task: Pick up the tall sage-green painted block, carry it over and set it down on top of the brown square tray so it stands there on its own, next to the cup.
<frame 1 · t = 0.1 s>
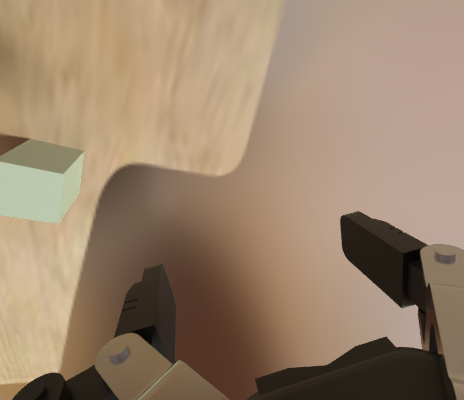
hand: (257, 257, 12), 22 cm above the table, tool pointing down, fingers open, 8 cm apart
green block: (56, 167, 30), on the table
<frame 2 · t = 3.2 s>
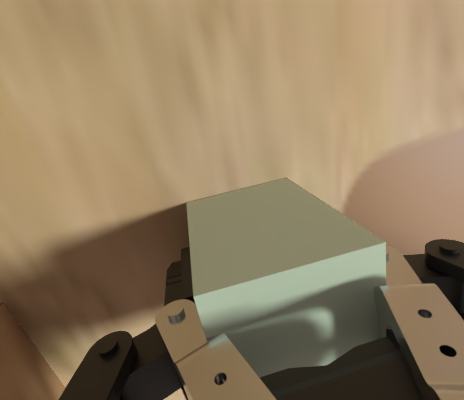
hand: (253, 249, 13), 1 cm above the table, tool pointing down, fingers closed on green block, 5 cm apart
green block: (246, 235, 14), on the table, touching gripper
when the fingers open (7 cm above the table, at t = 8.6 s): green block drops 2 cm, resting on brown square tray.
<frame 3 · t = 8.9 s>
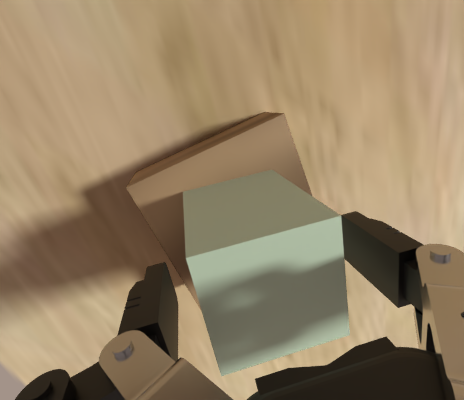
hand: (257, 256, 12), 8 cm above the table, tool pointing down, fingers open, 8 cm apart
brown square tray: (227, 200, 20), on the table, touching green block
green block: (237, 221, 16), point 4 cm above the table, touching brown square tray
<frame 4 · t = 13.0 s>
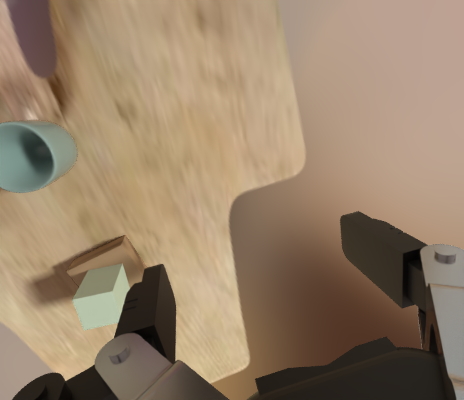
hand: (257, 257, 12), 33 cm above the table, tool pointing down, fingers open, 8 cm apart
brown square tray: (115, 266, 47), on the table
green block: (110, 280, 43), point 4 cm above the table
cup: (55, 146, 40), on the table
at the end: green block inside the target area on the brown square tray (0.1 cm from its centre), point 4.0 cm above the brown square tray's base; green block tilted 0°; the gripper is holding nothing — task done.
